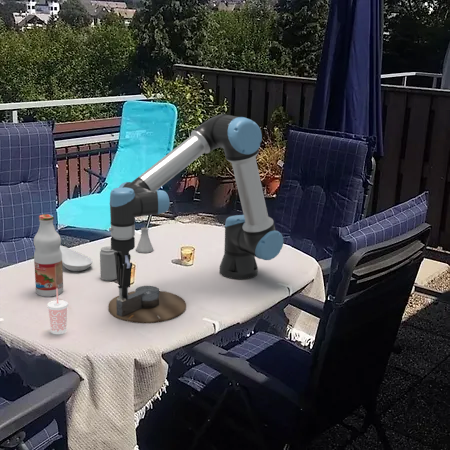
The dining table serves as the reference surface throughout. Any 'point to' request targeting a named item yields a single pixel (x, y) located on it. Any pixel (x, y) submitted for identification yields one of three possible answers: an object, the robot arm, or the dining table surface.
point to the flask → (144, 242)
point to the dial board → (153, 309)
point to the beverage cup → (58, 315)
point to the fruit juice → (48, 258)
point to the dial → (138, 300)
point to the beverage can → (107, 264)
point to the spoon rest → (74, 259)
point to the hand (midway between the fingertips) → (123, 304)
